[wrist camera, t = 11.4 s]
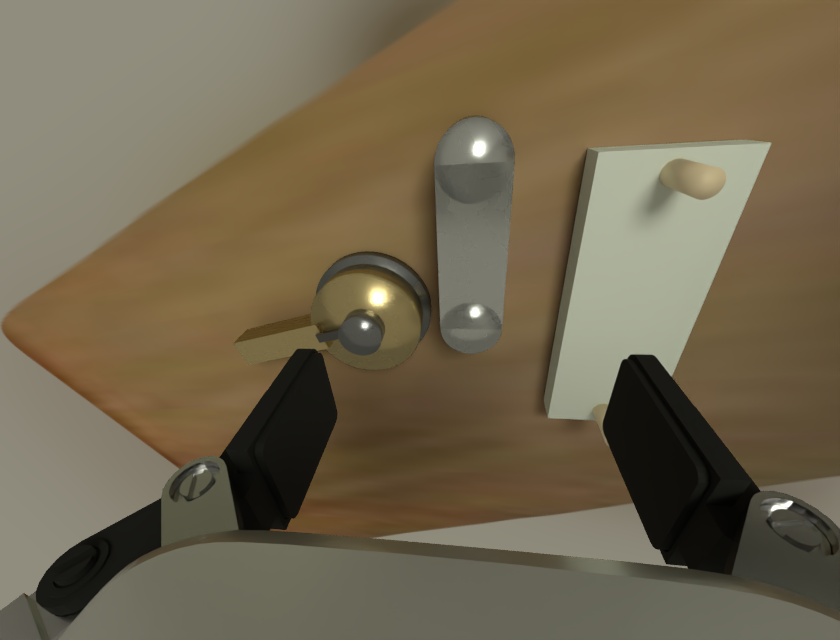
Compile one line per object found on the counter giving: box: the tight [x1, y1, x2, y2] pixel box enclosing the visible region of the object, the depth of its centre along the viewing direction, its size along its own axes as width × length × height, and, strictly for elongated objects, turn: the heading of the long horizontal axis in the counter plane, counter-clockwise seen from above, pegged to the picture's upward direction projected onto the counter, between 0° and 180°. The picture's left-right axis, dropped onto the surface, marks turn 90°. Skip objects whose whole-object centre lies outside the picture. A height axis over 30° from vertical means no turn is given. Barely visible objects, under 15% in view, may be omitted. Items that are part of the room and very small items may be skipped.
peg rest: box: [543, 140, 771, 446], centre depth 22 cm, size 20×8×5 cm, turn 4°
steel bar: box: [434, 115, 515, 354], centre depth 21 cm, size 4×14×4 cm, turn 4°
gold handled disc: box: [233, 264, 423, 370], centre depth 26 cm, size 15×8×3 cm, turn 108°
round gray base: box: [316, 252, 431, 343], centre depth 27 cm, size 9×9×1 cm
